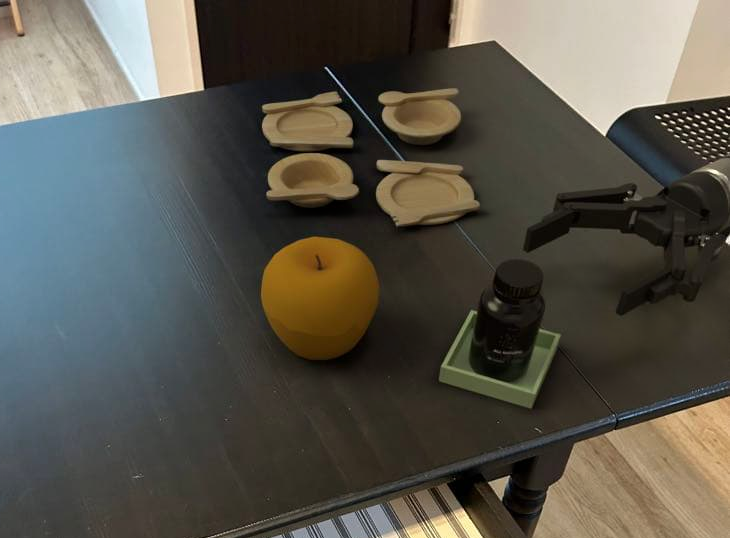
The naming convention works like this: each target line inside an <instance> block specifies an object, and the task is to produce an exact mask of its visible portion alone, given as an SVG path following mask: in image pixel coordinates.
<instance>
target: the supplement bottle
mask: <svg viewBox="0 0 730 538" xmlns="http://www.w3.org/2000/svg"><path fill="white" fill-rule="evenodd" d="M543 281H544V272H543V270H542V268H541V267H540V266H538V264H537V263H535V262H533V261H530V260H526V259H521V258H510V259H506V260H503V261H502V262H500V263H499V264H498V265H497V267H496V269H495V272H494V277H493V279H492V282H491V284H489V285H488V286H487V287H485V289H484V290H483V291H482V293H481V295H480V297H479V301H478V304H477V310H476V311H477V315H476V320H475V325H474V330H473V335H472V339H471V344H470V350H469V356H468V360H469V364H470V366H471V368H472V369H473V371H474V372H475V373H476V374H478V375H482V376H485V377H489V378H492V379H495V380H499V381H502V382H511V381H514V380H517V379H519V378H520V377H522V376H523V375H524V374H525V373H526V372H527V370H528V368H529V365H530V361H531V358H532V355H533V351H534V347H535V344H536V340H537V337H538V333H539V330H540V329H541V326H542V322H543V320H544V315H545V311H546V300H545V299H544V296H543V293H542V292H541V291H542V285H543Z"/></svg>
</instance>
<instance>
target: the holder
mask: <svg viewBox="0 0 730 538" xmlns="http://www.w3.org/2000/svg"><path fill="white" fill-rule="evenodd" d="M476 315H477V310H473V309H471V310H470V312H469V314H468V315H467V317H466V319H465V321H464V322H463V325H462V327H461V328H460V330H459V331H458V334H457V336H456V338H455V339H454V341H453V343H452V345H451V347H450V349H449V351H448V352H447V354H446V356H445V358H444V360H443V362H442V364H441V366H440V369H439V376H438V382H441V383H444V384H448V385H451V386H454V387H457V388H461V389H464V390H468V391H471V392H473V393H477V394H481V395H484V396H486V397H487V396H488V397H490V398H494V399H496V400H501V401H505V402H507V403H511V404H514V405H518V406H520V407H524V408H527V409H530V410H532V409H533V406H534V404H535V402H536V399H537V397H538V395H539V392H540V390H541V388H542V385H543V383H544V381H545V379H546V376H547V373H548V372H549V369H550V366H551V364H552V361H553V359H554V357H555V355H556V352H557V349H558V346H559V343H560V340H561V336H562V335H561V333H556V332H553V331H549V330H545V329H542V328H540V330H539V333H538V337H537V340H536V344H535V347H534V351H533V355H532V358H531V361H530V365H529V368H528V370H527V372H526V373H525V374H524V375H523V376H522V377H520V378H519V379H517V380H514V381H511V382H502V381H499V380H495V379H492V378H489V377H485V376H482V375H478V374H476V373H475V372H474V371H473V369H472V368H471V366H470V364H469V360H468V356H469V350H470V344H471V339H472V335H473V330H474V325H475V320H476Z"/></svg>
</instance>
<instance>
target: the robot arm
mask: <svg viewBox="0 0 730 538" xmlns="http://www.w3.org/2000/svg"><path fill="white" fill-rule="evenodd" d="M637 189H638V185H637V184H636V183H633V182H629V183H626V184H623V185H620V186H617V187H609V188H608V187H607V188H606V187H605V188H597V189H587V190H577V191H567V192H560V193H557V194H556V196H555V201H554V205H553V209H552V212H551V213H548V214H546V215H544V216H543V217H542V218H541V220H540V222H537V223H536V224H533V225H531V226H529V227H527V229H526V232H525V237H524V243H523V247H522V251H523V252H525V253H527V254H529V253H531V252H532V251H535V250H537V249H539V248H541V247H543V246H546V245H547V244H549V243H551V242H553V241H556V240H557V239H559V238H561V237H563V236H565V235H567V234H569V233H570V230H571V228H573V229H576V228H577V229H595V230H596V229H597V230H598V229H599V230H600V229H601V230H619V231H620V233H621V234H623V235H625V234H626V235H627V234H628V235H636V236H637V237H639V238H642V239H645V240H646V241H648V242H649V244H650V245H653V246H654V247H661V248H662V249H663V260H664V264H665V265H664V268H662V269H660V270H658V271H656V272H654V273H653V274H650V275H649V276H647V277H645V278H643V279H642V280H640V281H638V282H636V283H634V284H632V285H631V286H629V287H627V288H625V289H624V290H622V292H621V295H620V298H619V301H618V303H617V306H616V309H615V313H616V315H618V316H619V317H622V316H624V315H626V314H627V313H630V312H631V311H633V310H634V309H636V308H639V307H640V306H642V305H644V304H645V303H647V302H649V303H650V304H652V305H653V304H656V303H659V302H661V301H662V300H664V299H666V298H668V297H669V296H670V297H671V296H676V295H681V296H682V299H683V301H684V302H688V303H692V302H694V301H695V300H696V298H697V296H698V294H699V291H700V288H701V287H702V285H703V281H704V279H705V277H706V274H707V272H708V269H709V266H710V264H711V263H713V262H715V260H717V259H718V257H719V255H720V253H721V250H722V248H723V246H724V244H725V242H726V239H727V236H726V235H725V234H723V233H721V232H722V231H724V230H725V229H727V228H729V227H730V151H729V152H728V153H727V154H726V155H724V156H722V157H720V158H718V159H716V160H714V161H713V162H711V163H708V164H706V165H704V166H702V167H700V168H698V169H695V170H693V171H691V172H690V173H687V174H686V175H684V176H682V177H679V178H677V179H676V180H673V181H672V182H669V183H667V185H665V186H664V187H663V188H662V189H661V190H660V191H659V192H658V193H656V194H655V195H652V196H644V197H642V195H640V194H638V193H637V192H636V191H637ZM634 212H635V213H634ZM633 214H634V219H633V223H630V222H631V219H632V216H633ZM696 246H697V250H696V251H697V253H698V255H697V257H698V260H697V261H696V264H695V266H694V268H693V270H692V271H693V272H692V274H691V276H687V275H686V273H687V270H688V266H686V261H685V260H686V258H685V257H686V256H685V248H691V247H696Z"/></svg>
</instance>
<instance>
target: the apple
mask: <svg viewBox="0 0 730 538" xmlns="http://www.w3.org/2000/svg"><path fill="white" fill-rule="evenodd" d="M261 279H262V280H261V289H260V298H261V304H262V308H263V310H264V313H265V316H266V318H267V320H268V323H269V325H270V327H271V329H272V331H273V332H274V333H275V334H276V336H277V337H278V338H279V340H280V341H281V343H283V344H284V345H285V346H286V347H287V349H288V350H290V351H291V352H293V353H294V355H296V356H298V357H300V358H304V359H307V360H309V361H328V360H332V359H335V358H339V357H341V356H343V355H345V354H347V353H348V352H350V351H351V350H353V348H354V347H355V346H356V345H358V343H359V341H360V340H361V339H362V338H363V337H364V335H365V334H366V331H367V329H368V328H369V325H370V323H371V321H372V319H373V316H374V315H375V312H376V310H377V307H378V305H379V296H380V287H381V286H380V282H379V279H378V275H377V272H376V269H375V266H374V264H373V263H372V261H371V260H370V258H369V257H368V256H367V255H366V254H365V253H364V252H363V251H362V250H361V249H360V248H358V247H357V246H356V245H353V244H351V243H348V242H346V241H344V240H342V239H340V238H333V237H322V236H311V237H306V238H303V239H298V240H296V241H295V242H293V243H290V244H288V245H287V246H284V247H283V248H282V249H280V250H279V251H277V252H276V253H275V254H273V256H272V258H271V259H270V260H269V262H268V264H267V265H266V267H265V268H264V271H263V275H262V278H261Z"/></svg>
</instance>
